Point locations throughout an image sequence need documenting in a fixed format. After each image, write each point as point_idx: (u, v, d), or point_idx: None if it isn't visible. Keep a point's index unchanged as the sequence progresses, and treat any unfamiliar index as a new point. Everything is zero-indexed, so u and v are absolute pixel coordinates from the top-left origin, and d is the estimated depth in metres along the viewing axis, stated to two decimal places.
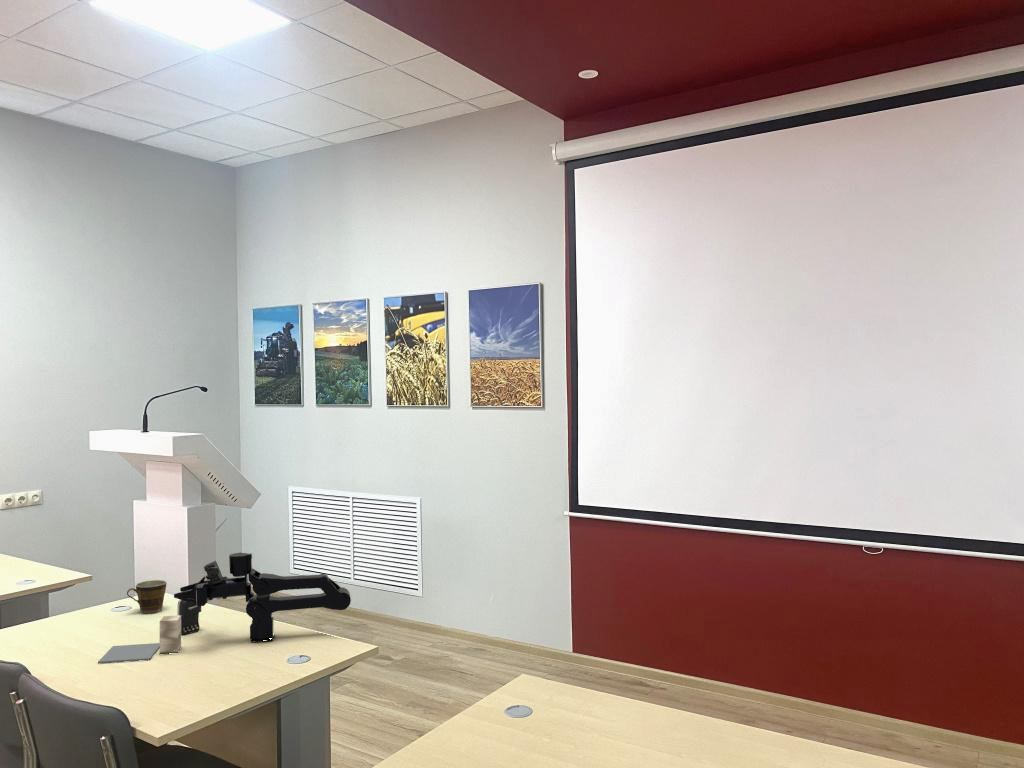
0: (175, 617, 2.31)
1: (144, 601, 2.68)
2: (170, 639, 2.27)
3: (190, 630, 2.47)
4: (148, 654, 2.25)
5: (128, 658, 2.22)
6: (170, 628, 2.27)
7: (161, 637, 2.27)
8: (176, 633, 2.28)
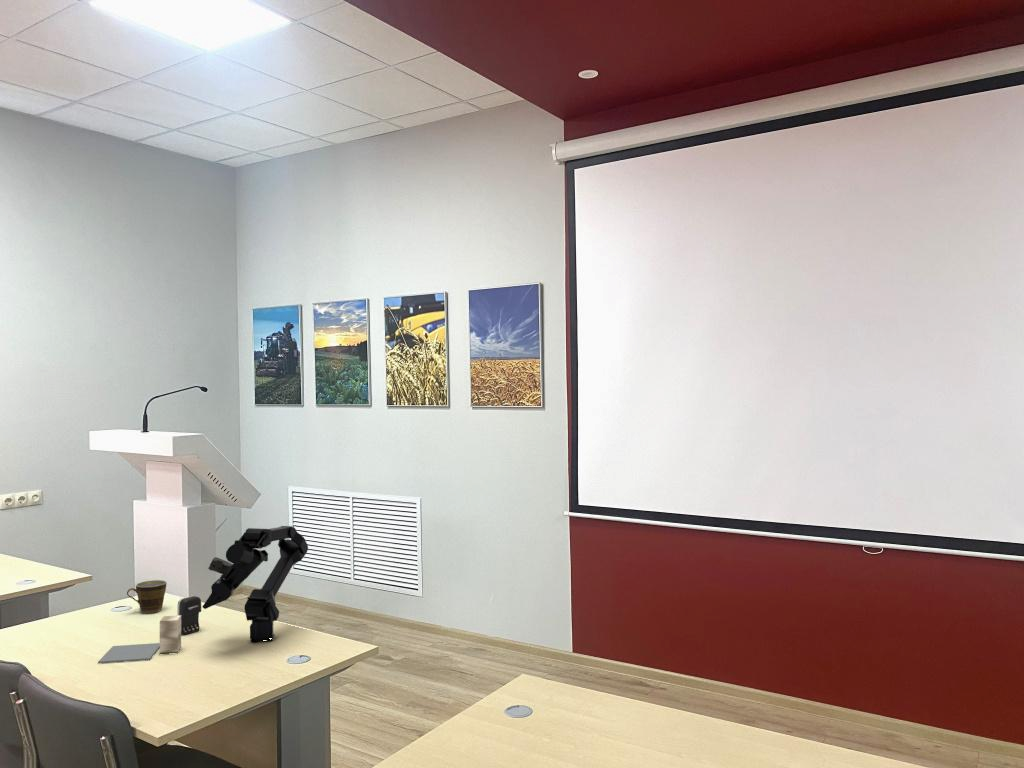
0: (175, 617, 2.31)
1: (144, 601, 2.68)
2: (170, 639, 2.27)
3: (190, 630, 2.47)
4: (148, 654, 2.25)
5: (128, 658, 2.22)
6: (170, 628, 2.27)
7: (161, 637, 2.27)
8: (176, 633, 2.28)
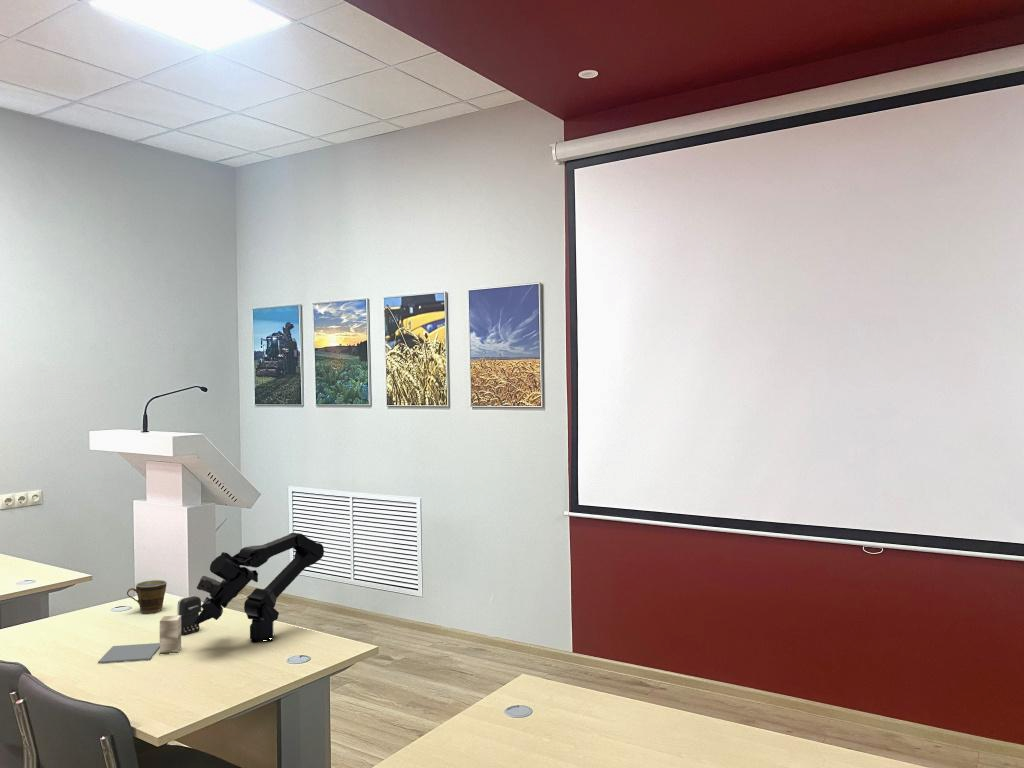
0: (175, 617, 2.31)
1: (144, 601, 2.68)
2: (170, 639, 2.27)
3: (190, 630, 2.47)
4: (148, 654, 2.25)
5: (128, 658, 2.22)
6: (170, 628, 2.27)
7: (161, 637, 2.27)
8: (176, 633, 2.28)
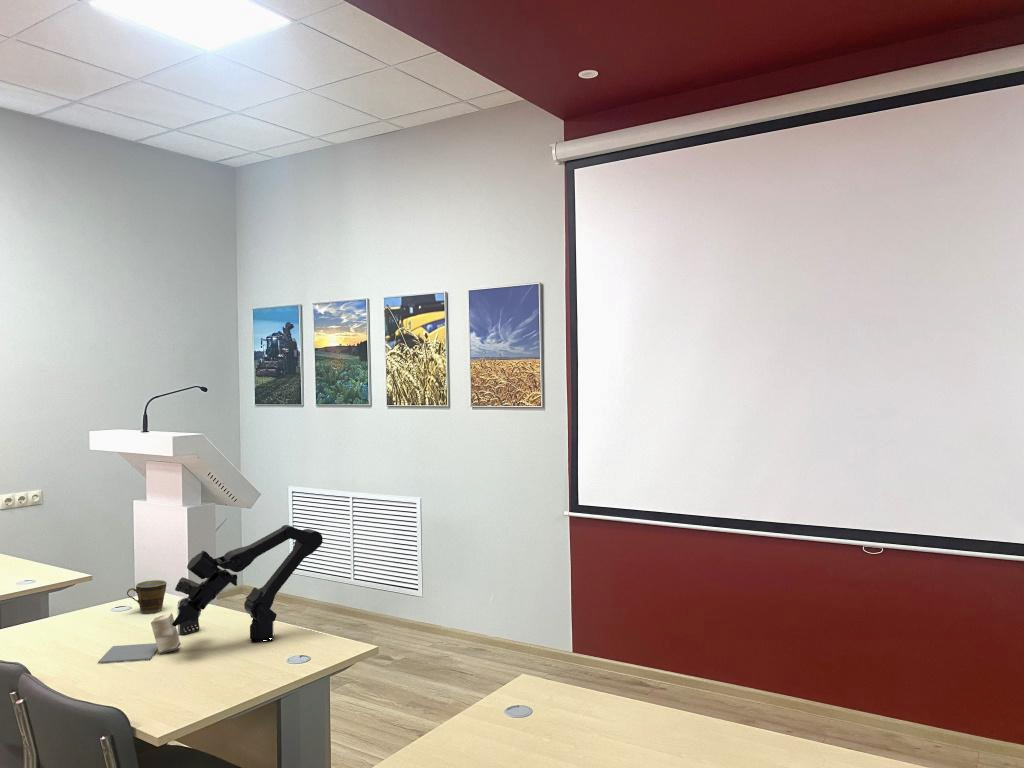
0: (166, 615, 2.30)
1: (144, 601, 2.68)
2: (166, 637, 2.27)
3: (190, 630, 2.47)
4: (148, 654, 2.25)
5: (128, 658, 2.22)
6: (163, 627, 2.27)
7: (156, 637, 2.27)
8: (170, 630, 2.27)
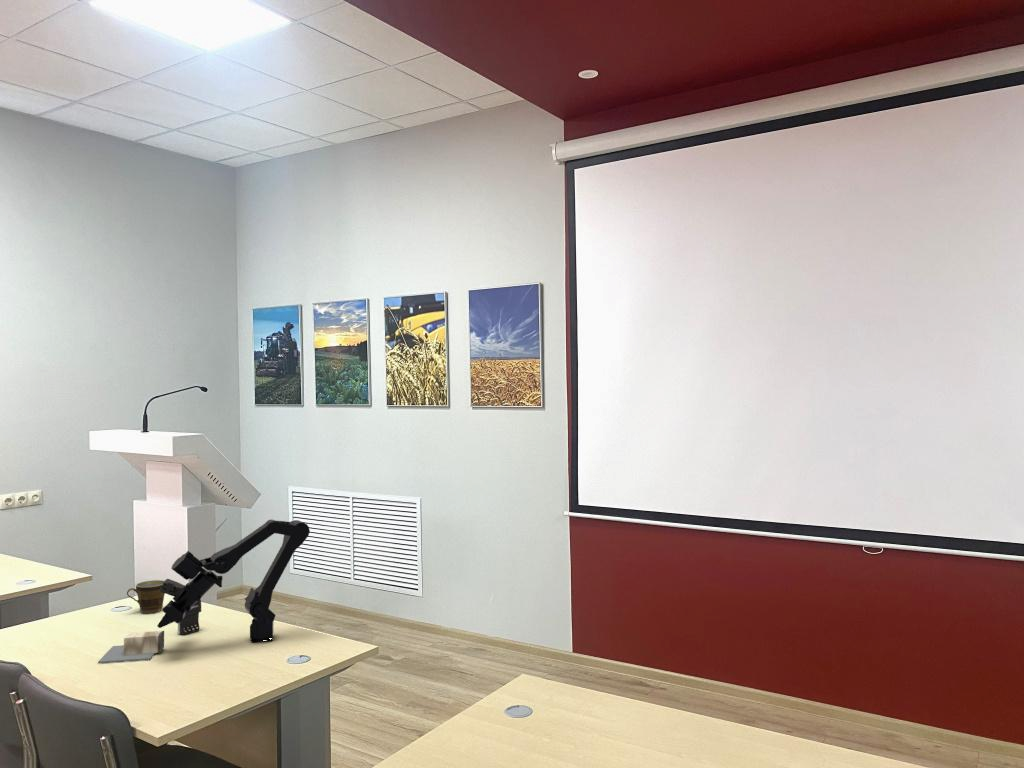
0: None
1: (144, 601, 2.68)
2: (144, 643, 2.26)
3: (190, 630, 2.47)
4: (148, 654, 2.25)
5: (128, 658, 2.22)
6: (132, 644, 2.25)
7: (141, 652, 2.26)
8: (138, 638, 2.26)
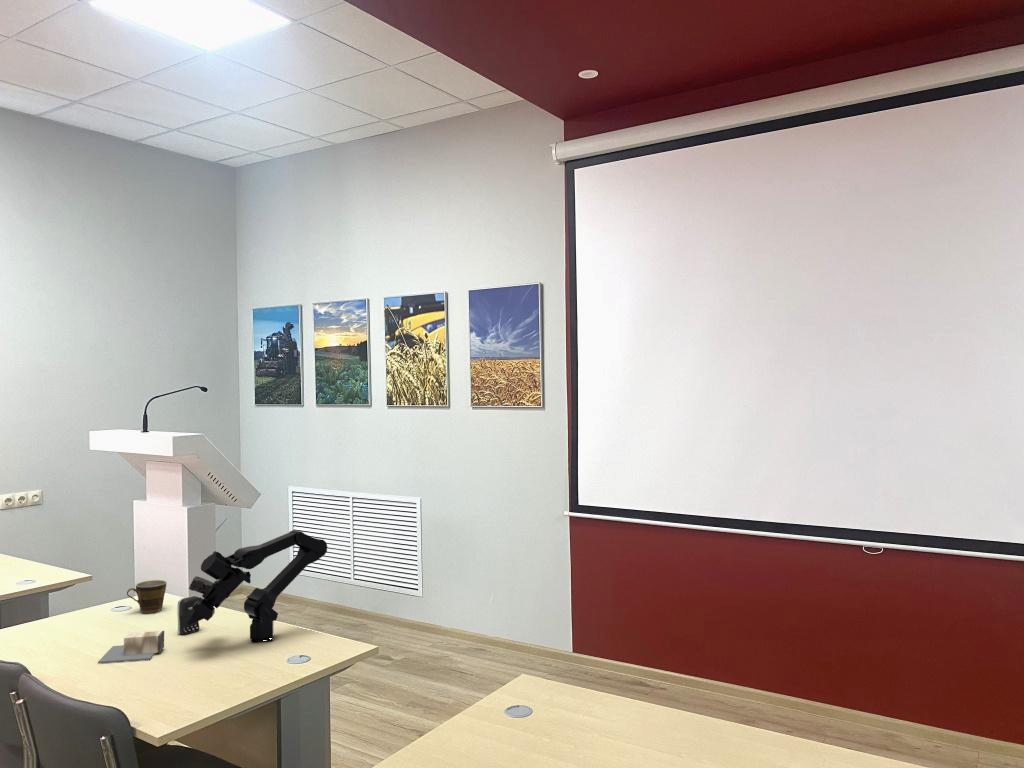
0: None
1: (144, 601, 2.68)
2: (144, 643, 2.26)
3: (190, 630, 2.47)
4: (148, 654, 2.25)
5: (128, 658, 2.22)
6: (132, 644, 2.25)
7: (141, 652, 2.26)
8: (138, 638, 2.26)
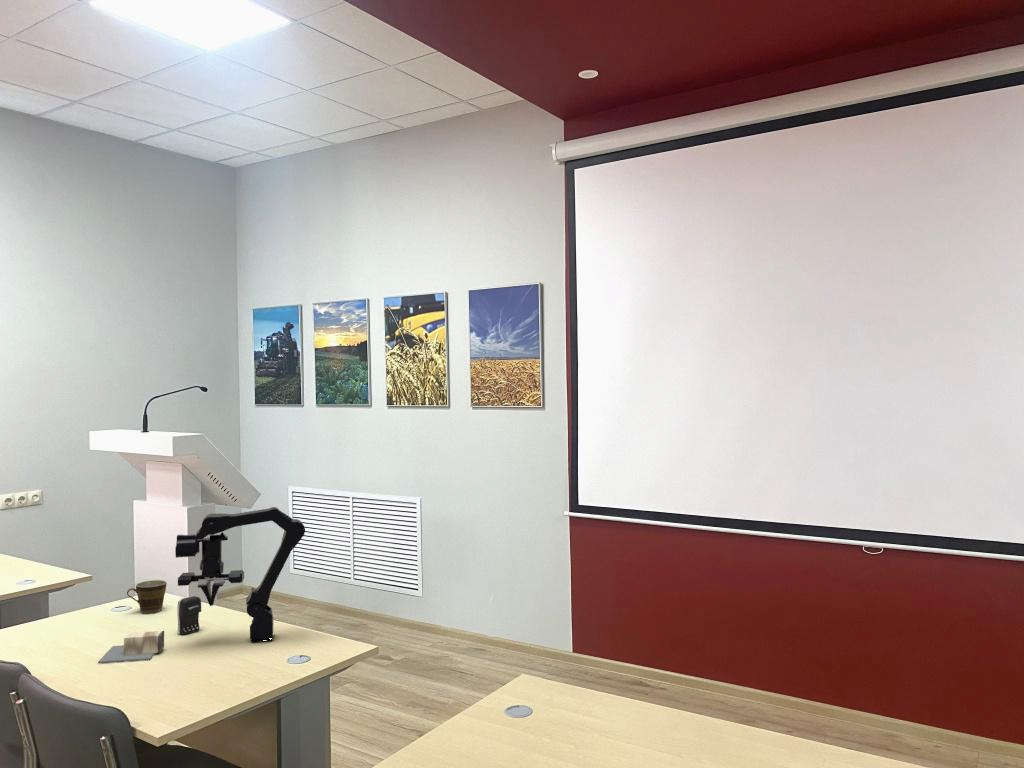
0: None
1: (144, 601, 2.68)
2: (144, 643, 2.26)
3: (190, 630, 2.47)
4: (148, 654, 2.25)
5: (128, 658, 2.22)
6: (132, 644, 2.25)
7: (141, 652, 2.26)
8: (138, 638, 2.26)
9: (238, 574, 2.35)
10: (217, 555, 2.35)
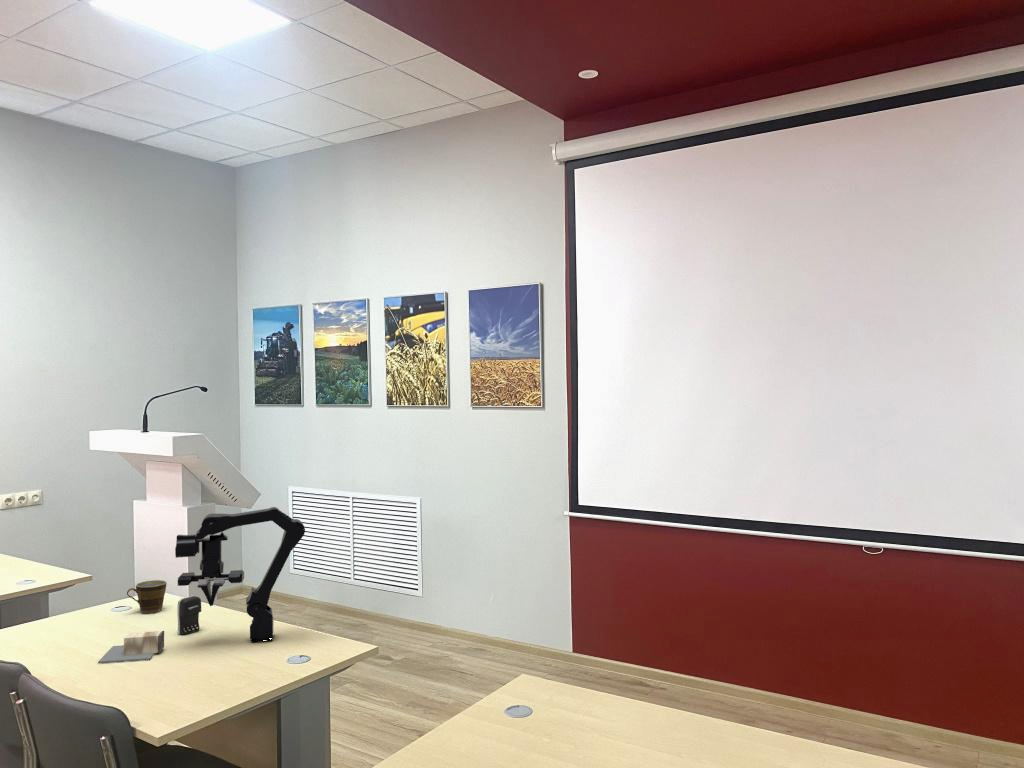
0: None
1: (144, 601, 2.68)
2: (144, 643, 2.26)
3: (190, 630, 2.47)
4: (148, 654, 2.25)
5: (128, 658, 2.22)
6: (132, 644, 2.25)
7: (141, 652, 2.26)
8: (138, 638, 2.26)
9: (238, 574, 2.35)
10: (217, 555, 2.35)
